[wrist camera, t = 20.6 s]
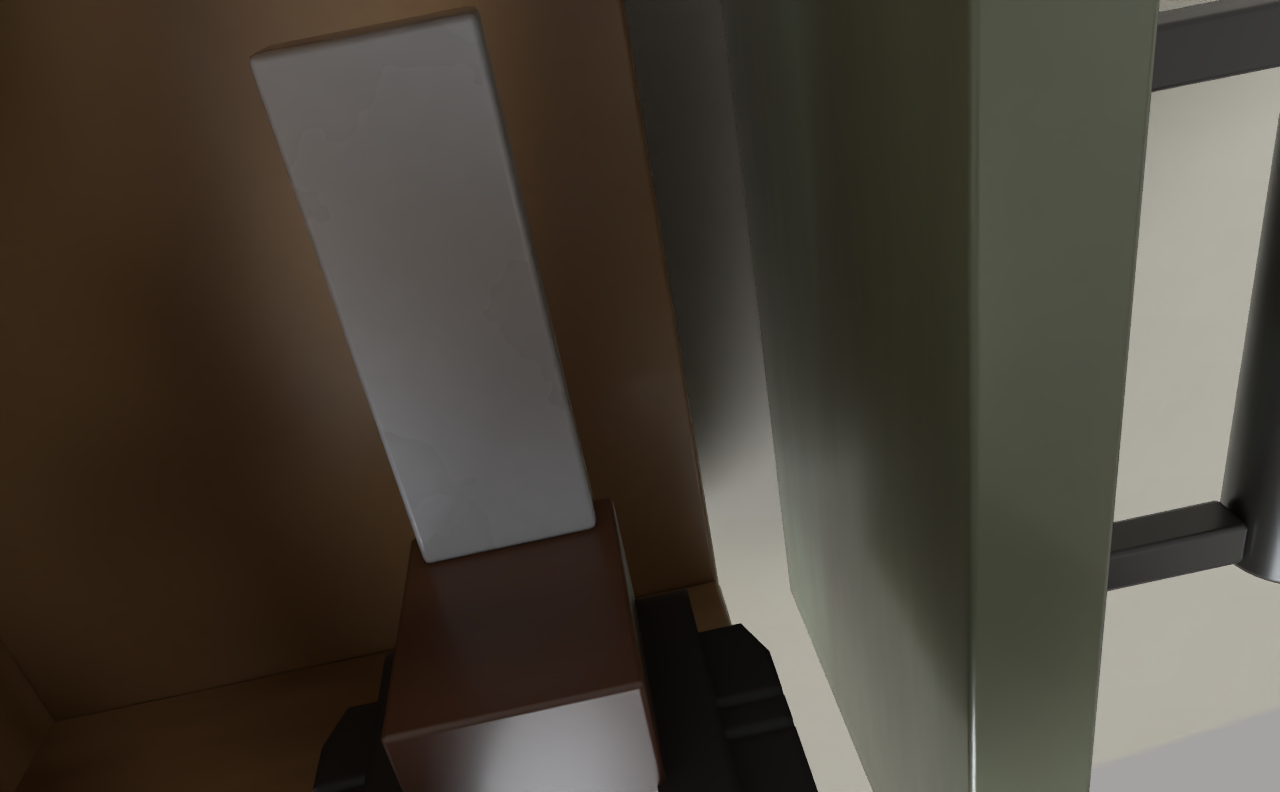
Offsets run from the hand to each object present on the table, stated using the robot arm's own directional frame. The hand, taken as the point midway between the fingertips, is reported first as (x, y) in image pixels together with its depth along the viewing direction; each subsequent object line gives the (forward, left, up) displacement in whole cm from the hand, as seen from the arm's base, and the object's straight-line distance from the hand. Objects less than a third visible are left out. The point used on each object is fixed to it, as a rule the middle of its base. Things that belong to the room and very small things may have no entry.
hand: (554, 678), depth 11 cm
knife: (+2, 0, 0) cm, 2 cm away
